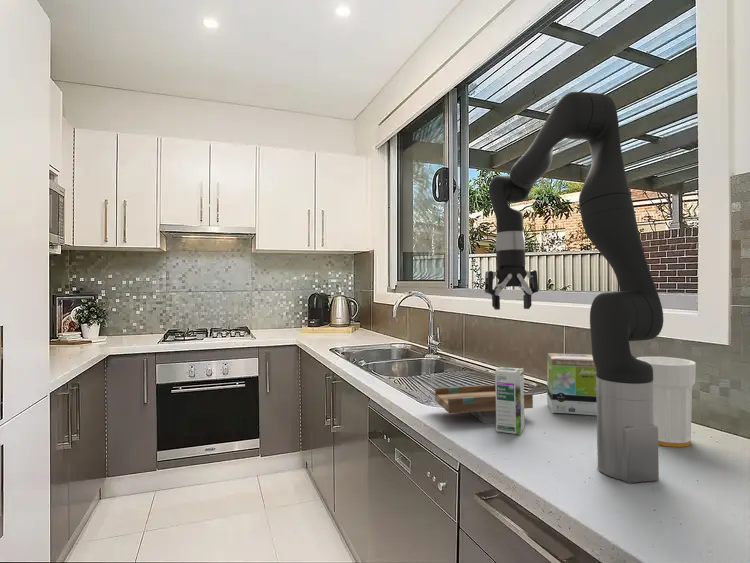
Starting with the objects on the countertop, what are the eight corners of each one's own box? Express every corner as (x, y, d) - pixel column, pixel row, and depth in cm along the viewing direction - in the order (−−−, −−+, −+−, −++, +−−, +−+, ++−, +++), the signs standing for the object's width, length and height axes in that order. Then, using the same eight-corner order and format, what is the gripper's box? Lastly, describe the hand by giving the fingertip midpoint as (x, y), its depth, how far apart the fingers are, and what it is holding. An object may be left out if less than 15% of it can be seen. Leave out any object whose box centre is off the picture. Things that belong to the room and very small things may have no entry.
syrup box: (495, 432, 107) (494, 370, 107) (500, 424, 112) (500, 365, 112) (520, 435, 104) (519, 372, 104) (525, 427, 109) (524, 367, 109)
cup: (627, 439, 101) (626, 360, 101) (647, 427, 108) (646, 354, 108) (687, 453, 92) (686, 367, 92) (704, 440, 99) (703, 360, 99)
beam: (533, 419, 115) (532, 388, 115) (449, 425, 112) (449, 393, 112) (511, 406, 127) (510, 378, 127) (435, 411, 124) (434, 382, 124)
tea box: (551, 414, 120) (551, 358, 120) (546, 404, 130) (546, 352, 129) (614, 417, 116) (613, 359, 116) (604, 406, 126) (603, 353, 126)
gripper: (491, 248, 119) (492, 310, 118) (542, 247, 121) (543, 309, 120) (480, 250, 126) (481, 309, 126) (528, 250, 128) (530, 308, 128)
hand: (512, 309), depth 123 cm, fingers open, 8 cm apart
